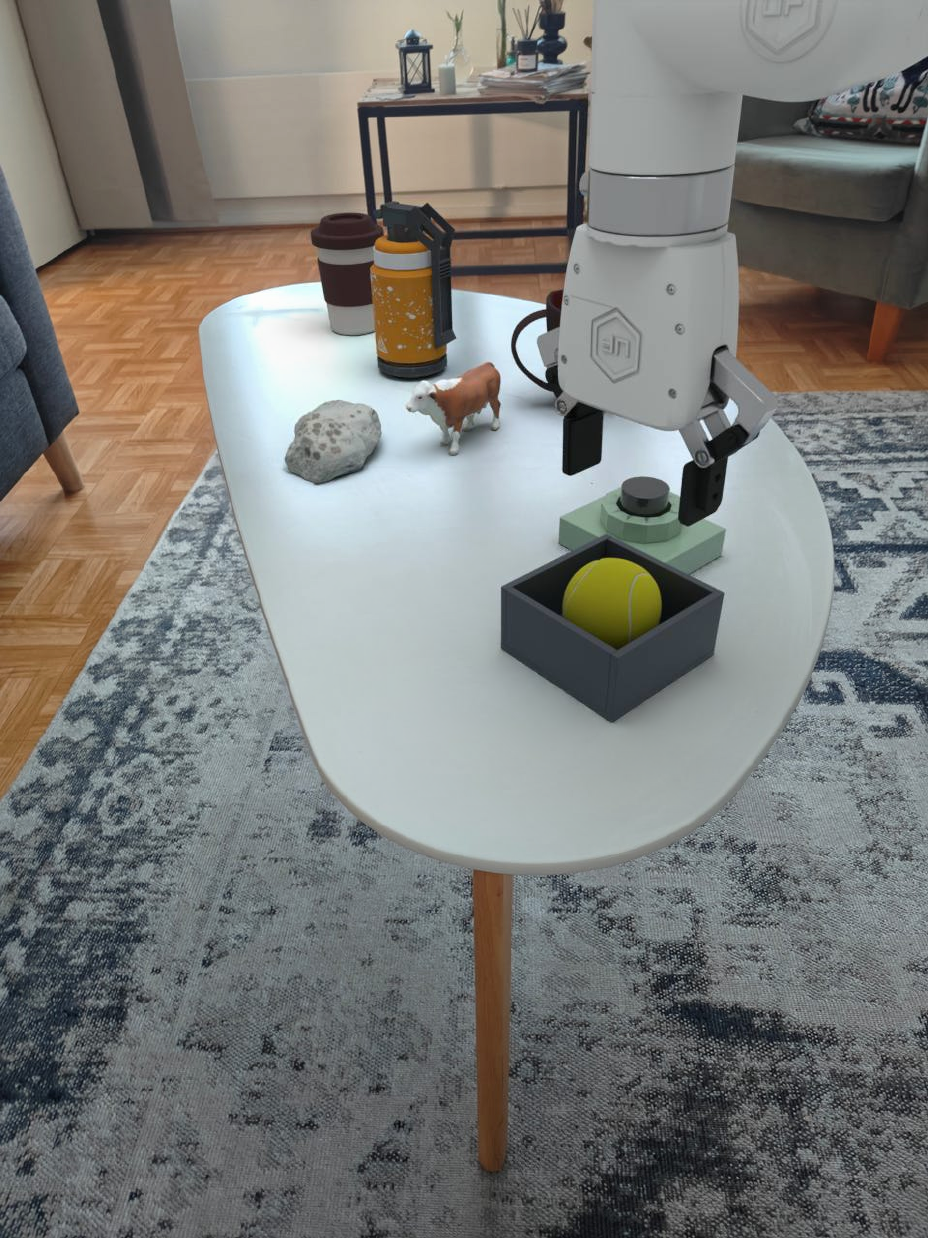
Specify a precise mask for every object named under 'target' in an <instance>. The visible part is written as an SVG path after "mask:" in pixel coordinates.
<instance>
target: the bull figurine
mask: <svg viewBox="0 0 928 1238" xmlns="http://www.w3.org/2000/svg"><path fill="white" fill-rule="evenodd" d="M501 380H502V379H501V374H500V372H499V370H498V369H497V368H496V367H495V365H494V364H493V363H492V362H490V361H486V362H484V363H482V364H481V365H479V366H476V367H474V368H470V369H468V370H466V371H465V372H464V373H462V374H461V375H459V376H456V377H454V378H453V377H452V378H448V379H440V380H437V381H436V382H435V383H432V384H431V383H430V381H428V380H421V381H420V382H419V383H418V384H417V385H416V386H414V388H413V390H412V394H411V396H410V398H409V401H408V402H406V404H405V409H406V410H407V412H409V413H417V412H418V413H420V414H421V415H424V416H429V417H430V419H431V420H432V422H433V423H435V425H436V426H439V428H440V431H442V433H443V434H442V438H441V440H440V442H439V445H440V446H448V445H449V443H450V441H451V440H452V442H451V445H450V449H449V450H448V454H449V455H451V456H457V455H458V454H459V451H460V449H461V447H460V445H459V439H460V437H461V435H462V434H461V433H462V431H464V432H467V431H471V429H472V426H474V424H475V423H474V422H475V421H474V418H475V415H476V414H477V415H480V414H481V412H482V410H483V409H486V408H487V406H488V404H489V406H490V408H491V410H492V413H493V414H492V415H493V418H492V422H491V424H490V430H492V431H497V430H499V428H500V424H501V420H500V411H501V410H500V409H501V406H502V403H501V402H500V400H499V394H500V390H501V383H502V381H501ZM465 418H466V421H465V422H464V420H465ZM451 428H453V429H452V432H451V435H450V432H449V429H451ZM451 436H452V437H451Z"/></svg>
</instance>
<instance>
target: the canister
mask: <svg viewBox="0 0 928 1238" xmlns="http://www.w3.org/2000/svg"><path fill="white" fill-rule="evenodd" d="M372 213H373V216H374V218H375V219H376V220H382V227H387V228H390V229H389V230H388V234H384V236H382V237H380V238H378V239H377V240H376V242H375V246H374V247H373V252H374V264H373V265H372V267H371V268H370V274H371V287H372V300H373V312H374V325H375V331H374V334H375V335H374V336H375V349H376V355H377V356H376V362H377V368H378V369H379V371H381V372H383V373H385V374H387V375H391V376H394V377H397V378H402V379H403V378H404V379H418V378H424V377H428V376H431V375H433V374H435V373H438V372H440V371H442V370H443V369H445V368H446V367H447V366H448V353H447V350H448V345H449V343H451V342H453V341H455V340H456V339H457V335H456V334H455V331H454V330H453V325H454V324H453V297H452V296H453V295H452V291H453V290H452V275H453V273H452V258H451V247H452V243H453V239H454V236H455V232H456V228H454V227H453V225H451V224H450V223H449V222H448V221H447V220H446V219H445V218H444V217H443V216H442V215H441V214H440V213H439V212H438V211H437V210H436V209H435V208H434V207H433V206H432V205H431V204H429V202H426V203H425V204H423V205H422V206H420V205H413V204H407V203H406V204H405V203H400V201H394V200H393V201H390V202H386V203H381V204H380V206H379V208H378V209H375V210H373V212H372ZM432 220H433V221H434V222H435V223H436V224H437V225H438V226H439V227H440V228H439V227H438V226H437V225H436V224H435V223H434V222H433V221H432ZM442 230H443V231H444V232H445V233H444V232H443V231H442Z"/></svg>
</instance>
